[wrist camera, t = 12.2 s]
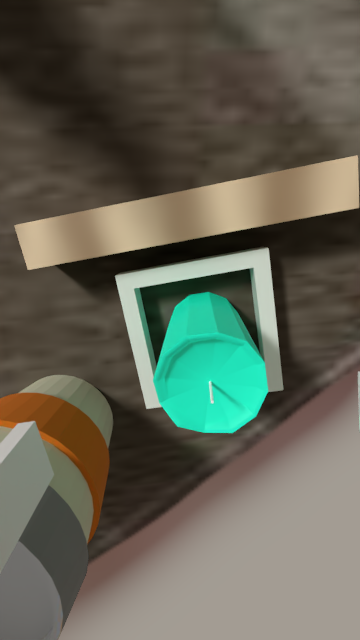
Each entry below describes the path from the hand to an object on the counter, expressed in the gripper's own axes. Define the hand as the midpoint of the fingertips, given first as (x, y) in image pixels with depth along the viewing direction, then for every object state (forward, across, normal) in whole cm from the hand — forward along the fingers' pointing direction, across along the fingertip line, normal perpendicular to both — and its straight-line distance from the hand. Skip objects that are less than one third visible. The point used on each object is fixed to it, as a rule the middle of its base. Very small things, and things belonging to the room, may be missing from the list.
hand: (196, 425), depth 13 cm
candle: (+14, +1, 0) cm, 14 cm away
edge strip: (+14, +1, +8) cm, 16 cm away
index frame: (+14, +1, 0) cm, 14 cm away
